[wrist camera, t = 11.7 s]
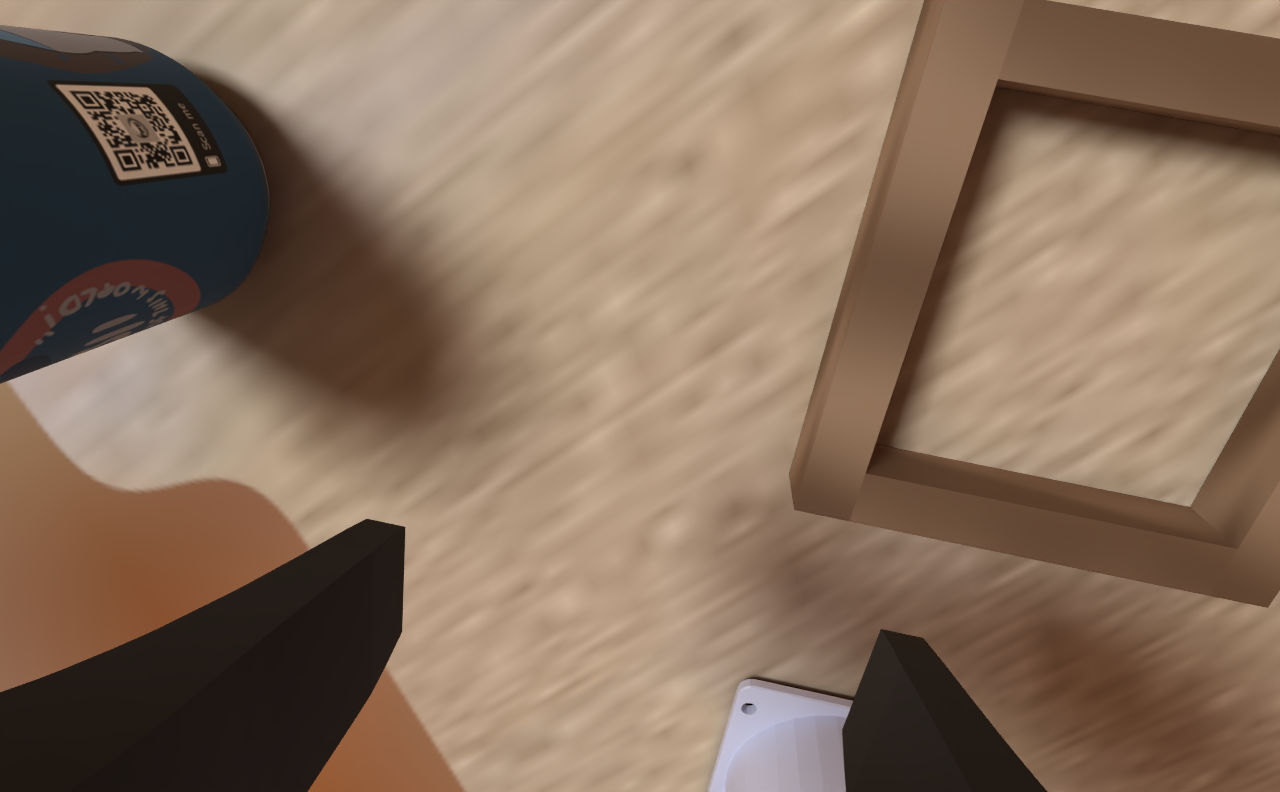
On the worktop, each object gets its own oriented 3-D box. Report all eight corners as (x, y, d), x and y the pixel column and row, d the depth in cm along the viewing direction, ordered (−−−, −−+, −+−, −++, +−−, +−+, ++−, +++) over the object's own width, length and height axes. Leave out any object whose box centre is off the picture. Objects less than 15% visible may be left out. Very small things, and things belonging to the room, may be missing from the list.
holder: (1218, 562, 20) (1267, 607, 18) (789, 473, 21) (794, 509, 19) (1501, 94, 15) (1608, 93, 13) (924, -1, 16) (949, -16, 14)
